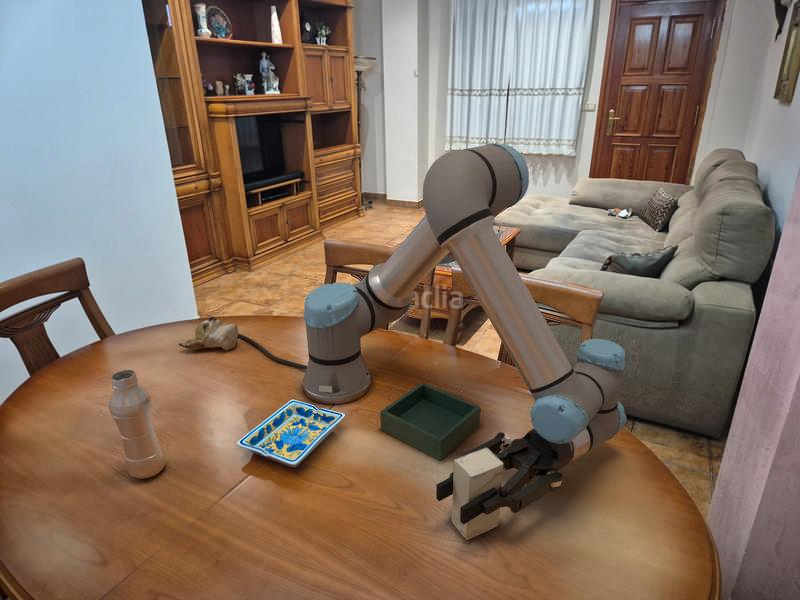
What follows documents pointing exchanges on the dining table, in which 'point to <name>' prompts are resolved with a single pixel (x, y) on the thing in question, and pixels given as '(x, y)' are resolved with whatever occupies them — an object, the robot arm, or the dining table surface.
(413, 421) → the tote
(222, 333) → the ceramic sculpture
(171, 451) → the dining table surface
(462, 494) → the cosmetic box
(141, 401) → the plastic bottle
